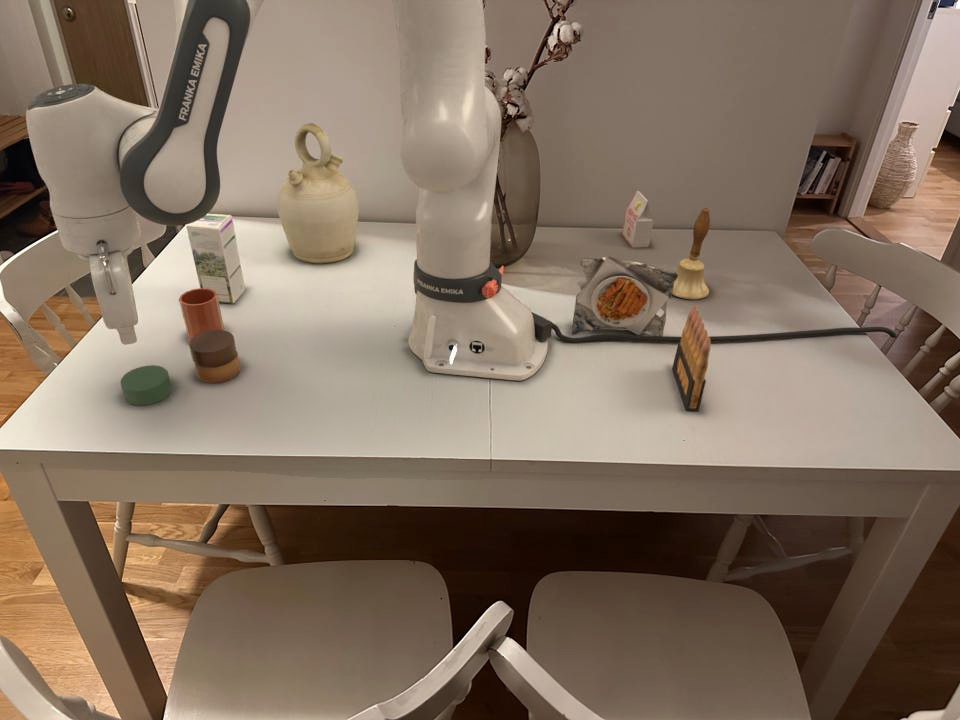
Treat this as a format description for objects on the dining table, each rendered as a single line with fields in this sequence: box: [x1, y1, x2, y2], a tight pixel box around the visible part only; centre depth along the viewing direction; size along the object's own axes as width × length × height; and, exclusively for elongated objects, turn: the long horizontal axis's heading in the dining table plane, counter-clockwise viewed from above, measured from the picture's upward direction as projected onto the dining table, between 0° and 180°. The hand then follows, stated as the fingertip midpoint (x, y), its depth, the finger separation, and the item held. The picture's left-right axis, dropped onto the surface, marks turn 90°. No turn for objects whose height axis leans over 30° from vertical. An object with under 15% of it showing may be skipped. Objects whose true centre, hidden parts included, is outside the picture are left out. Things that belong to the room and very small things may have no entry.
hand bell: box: [672, 207, 711, 301], centre depth 125 cm, size 8×8×16 cm
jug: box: [277, 122, 360, 264], centre depth 132 cm, size 15×16×25 cm
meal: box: [571, 256, 678, 336], centre depth 112 cm, size 15×4×13 cm, turn 81°
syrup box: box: [185, 213, 246, 304], centre depth 118 cm, size 6×6×14 cm
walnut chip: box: [188, 329, 238, 367], centre depth 101 cm, size 6×6×3 cm
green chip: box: [119, 365, 173, 407], centre depth 97 cm, size 6×6×3 cm
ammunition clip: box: [671, 304, 712, 412], centre depth 100 cm, size 11×2×12 cm, turn 178°
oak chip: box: [193, 349, 241, 384], centre depth 102 cm, size 6×6×3 cm
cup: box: [178, 287, 225, 341], centre depth 109 cm, size 6×6×7 cm
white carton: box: [621, 190, 654, 249], centre depth 145 cm, size 4×7×10 cm, turn 8°
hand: (126, 323), depth 92 cm, fingers open, 8 cm apart
